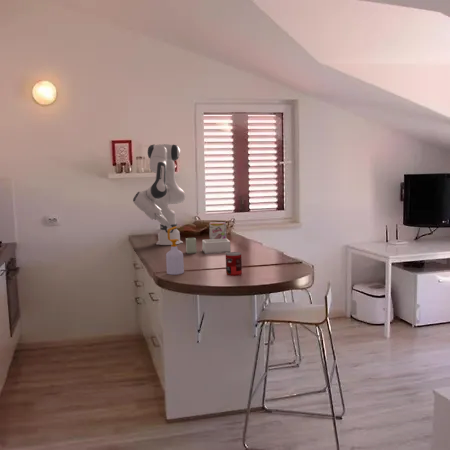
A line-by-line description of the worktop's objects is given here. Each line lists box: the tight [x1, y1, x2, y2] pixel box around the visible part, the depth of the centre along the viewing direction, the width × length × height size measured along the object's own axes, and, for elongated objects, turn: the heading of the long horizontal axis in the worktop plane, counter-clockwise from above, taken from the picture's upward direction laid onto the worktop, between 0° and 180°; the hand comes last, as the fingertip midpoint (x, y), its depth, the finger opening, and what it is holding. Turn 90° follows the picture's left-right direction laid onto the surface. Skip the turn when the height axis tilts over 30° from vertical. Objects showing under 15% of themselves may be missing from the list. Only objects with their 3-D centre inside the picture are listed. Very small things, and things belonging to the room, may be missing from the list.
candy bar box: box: [208, 221, 227, 239], centre depth 373 cm, size 11×5×16 cm, turn 84°
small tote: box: [185, 237, 198, 255], centre depth 354 cm, size 6×6×9 cm
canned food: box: [225, 251, 243, 277], centre depth 283 cm, size 8×8×11 cm
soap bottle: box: [165, 226, 185, 276], centre depth 291 cm, size 9×9×25 cm
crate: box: [201, 237, 232, 255], centre depth 356 cm, size 14×16×7 cm
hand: (171, 227), depth 350 cm, fingers open, 8 cm apart
